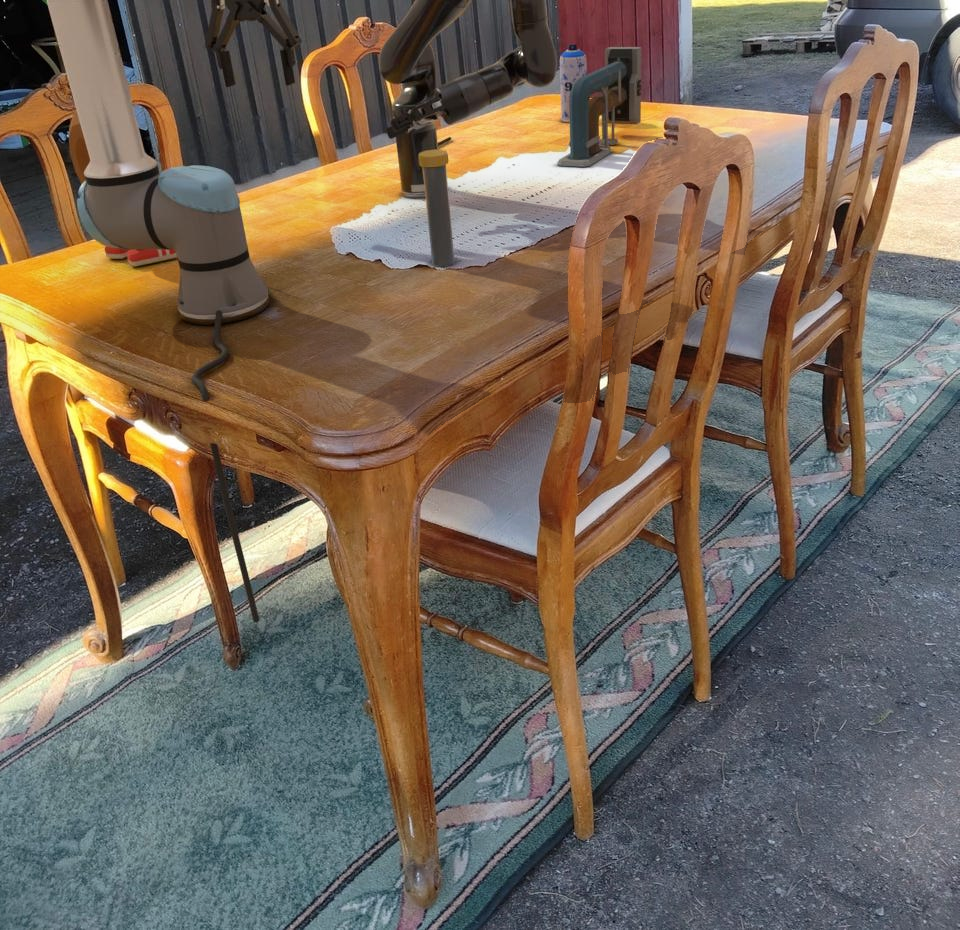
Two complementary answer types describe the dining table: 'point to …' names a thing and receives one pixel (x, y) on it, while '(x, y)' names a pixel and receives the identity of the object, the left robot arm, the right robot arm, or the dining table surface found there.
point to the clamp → (603, 105)
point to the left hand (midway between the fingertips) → (260, 85)
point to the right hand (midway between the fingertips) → (389, 130)
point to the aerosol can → (570, 75)
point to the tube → (438, 215)
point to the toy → (80, 164)
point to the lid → (433, 158)
